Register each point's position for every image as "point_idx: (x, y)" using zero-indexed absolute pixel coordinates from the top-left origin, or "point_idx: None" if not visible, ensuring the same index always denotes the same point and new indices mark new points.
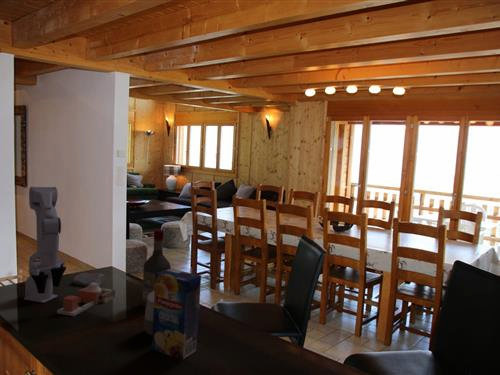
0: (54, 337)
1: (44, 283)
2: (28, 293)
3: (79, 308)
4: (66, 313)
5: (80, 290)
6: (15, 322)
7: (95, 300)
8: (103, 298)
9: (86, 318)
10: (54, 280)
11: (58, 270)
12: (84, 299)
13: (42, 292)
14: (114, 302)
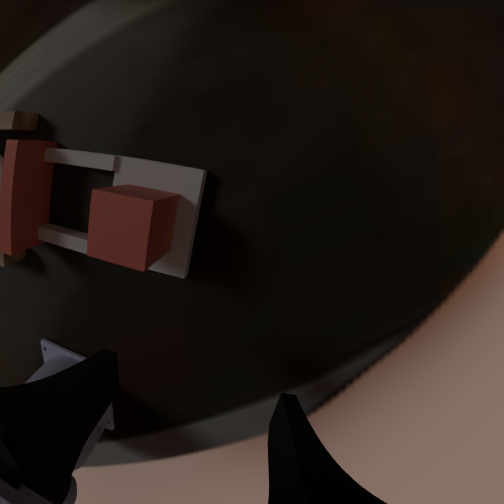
0: (453, 165)
1: (320, 457)
2: (97, 430)
3: (130, 175)
4: (196, 217)
5: (9, 241)
6: (321, 384)
7: (44, 142)
8: (23, 121)
9: (224, 93)
10: (95, 408)
11: (37, 452)
12: (39, 206)
13: (296, 405)
14: (32, 83)
